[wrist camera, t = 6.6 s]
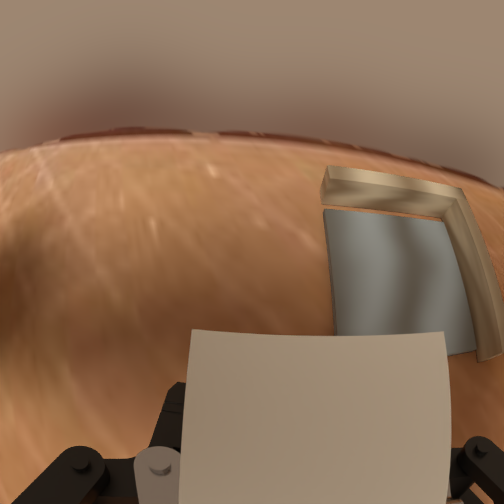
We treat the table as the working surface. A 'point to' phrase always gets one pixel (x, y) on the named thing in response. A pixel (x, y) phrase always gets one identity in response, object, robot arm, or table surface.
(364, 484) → the cream block
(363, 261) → the corner tray
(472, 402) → the table surface
